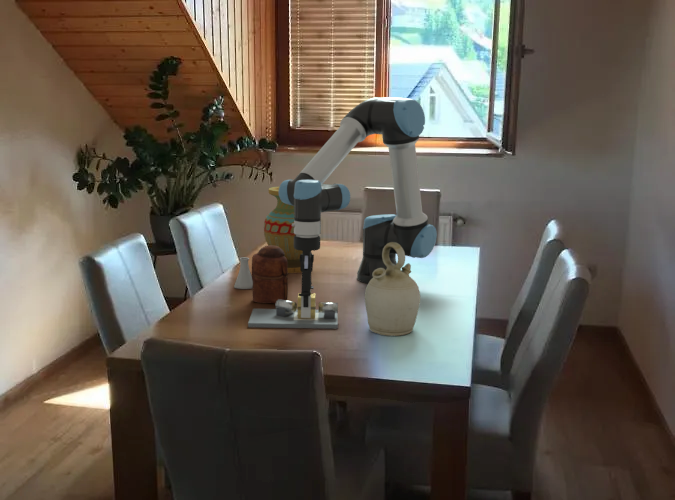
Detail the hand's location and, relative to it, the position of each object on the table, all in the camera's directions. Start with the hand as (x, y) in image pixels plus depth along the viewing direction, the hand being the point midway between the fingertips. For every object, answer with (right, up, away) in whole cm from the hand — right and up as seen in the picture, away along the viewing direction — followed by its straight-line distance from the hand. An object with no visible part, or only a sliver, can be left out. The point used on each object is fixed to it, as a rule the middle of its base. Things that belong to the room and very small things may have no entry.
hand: (306, 314), depth 209 cm
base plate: (-3, -2, 0) cm, 4 cm away
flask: (-22, +6, +36) cm, 42 cm away
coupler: (0, 0, 0) cm, 0 cm away
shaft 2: (+6, -1, 0) cm, 6 cm away
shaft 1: (-6, 0, +1) cm, 6 cm away
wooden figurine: (-12, +2, +19) cm, 23 cm away
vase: (-8, +11, +62) cm, 64 cm away
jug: (+24, -4, -6) cm, 25 cm away
